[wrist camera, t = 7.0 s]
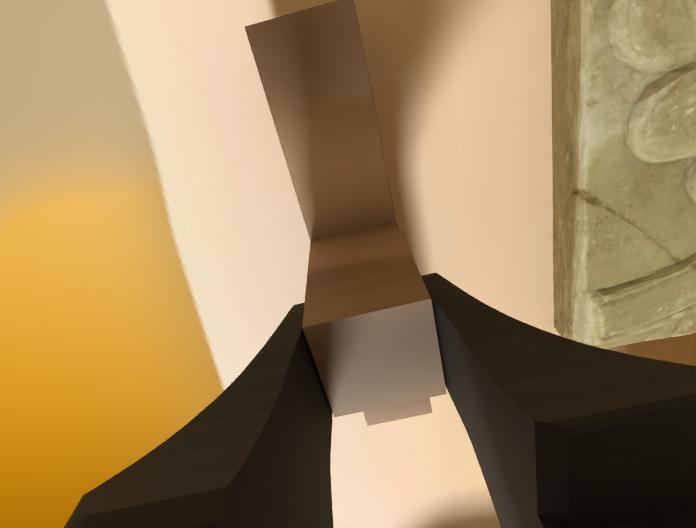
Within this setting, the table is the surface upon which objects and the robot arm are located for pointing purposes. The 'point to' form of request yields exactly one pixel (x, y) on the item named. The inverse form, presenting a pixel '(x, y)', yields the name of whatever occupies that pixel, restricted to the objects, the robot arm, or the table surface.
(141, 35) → the table surface
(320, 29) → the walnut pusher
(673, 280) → the decorative tile
